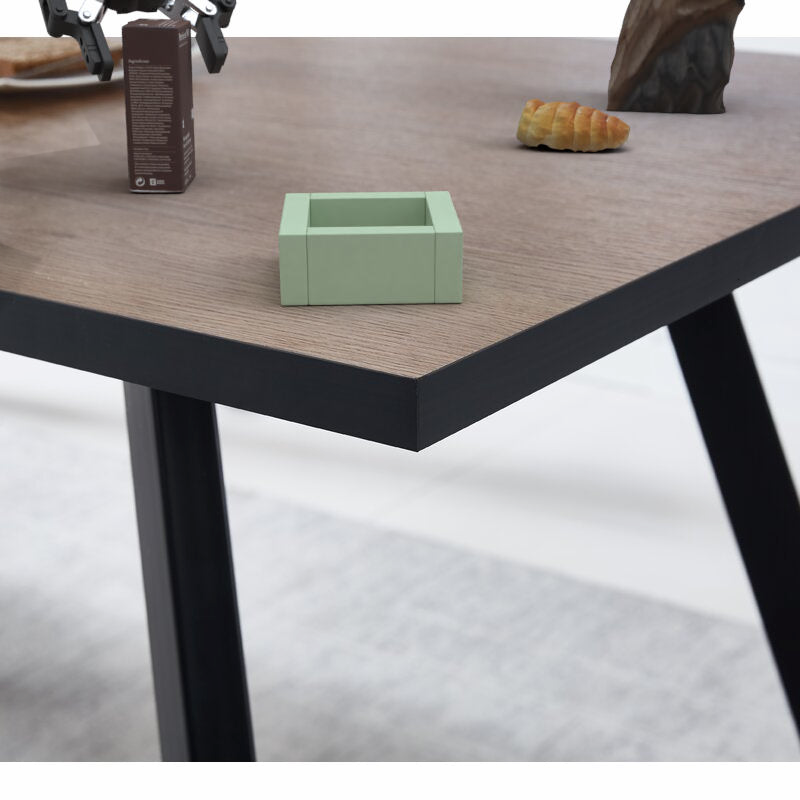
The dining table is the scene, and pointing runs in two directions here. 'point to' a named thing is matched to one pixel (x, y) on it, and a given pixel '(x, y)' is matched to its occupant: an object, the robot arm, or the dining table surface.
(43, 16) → the robot arm
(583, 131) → the pastry
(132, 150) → the box
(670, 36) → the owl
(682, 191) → the dining table surface
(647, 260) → the dining table surface
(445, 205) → the socket
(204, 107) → the dining table surface
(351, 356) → the dining table surface
